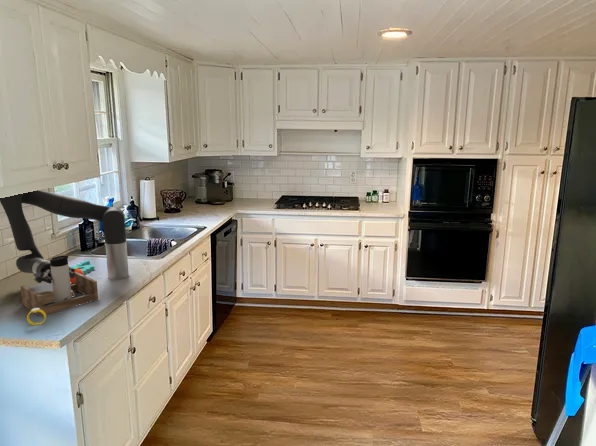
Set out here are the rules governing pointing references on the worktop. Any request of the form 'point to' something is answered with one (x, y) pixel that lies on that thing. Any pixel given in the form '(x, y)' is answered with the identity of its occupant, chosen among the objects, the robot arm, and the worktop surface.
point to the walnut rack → (82, 285)
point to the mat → (42, 287)
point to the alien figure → (84, 266)
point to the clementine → (74, 277)
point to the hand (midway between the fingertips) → (62, 278)
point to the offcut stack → (50, 296)
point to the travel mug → (60, 278)
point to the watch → (33, 312)
